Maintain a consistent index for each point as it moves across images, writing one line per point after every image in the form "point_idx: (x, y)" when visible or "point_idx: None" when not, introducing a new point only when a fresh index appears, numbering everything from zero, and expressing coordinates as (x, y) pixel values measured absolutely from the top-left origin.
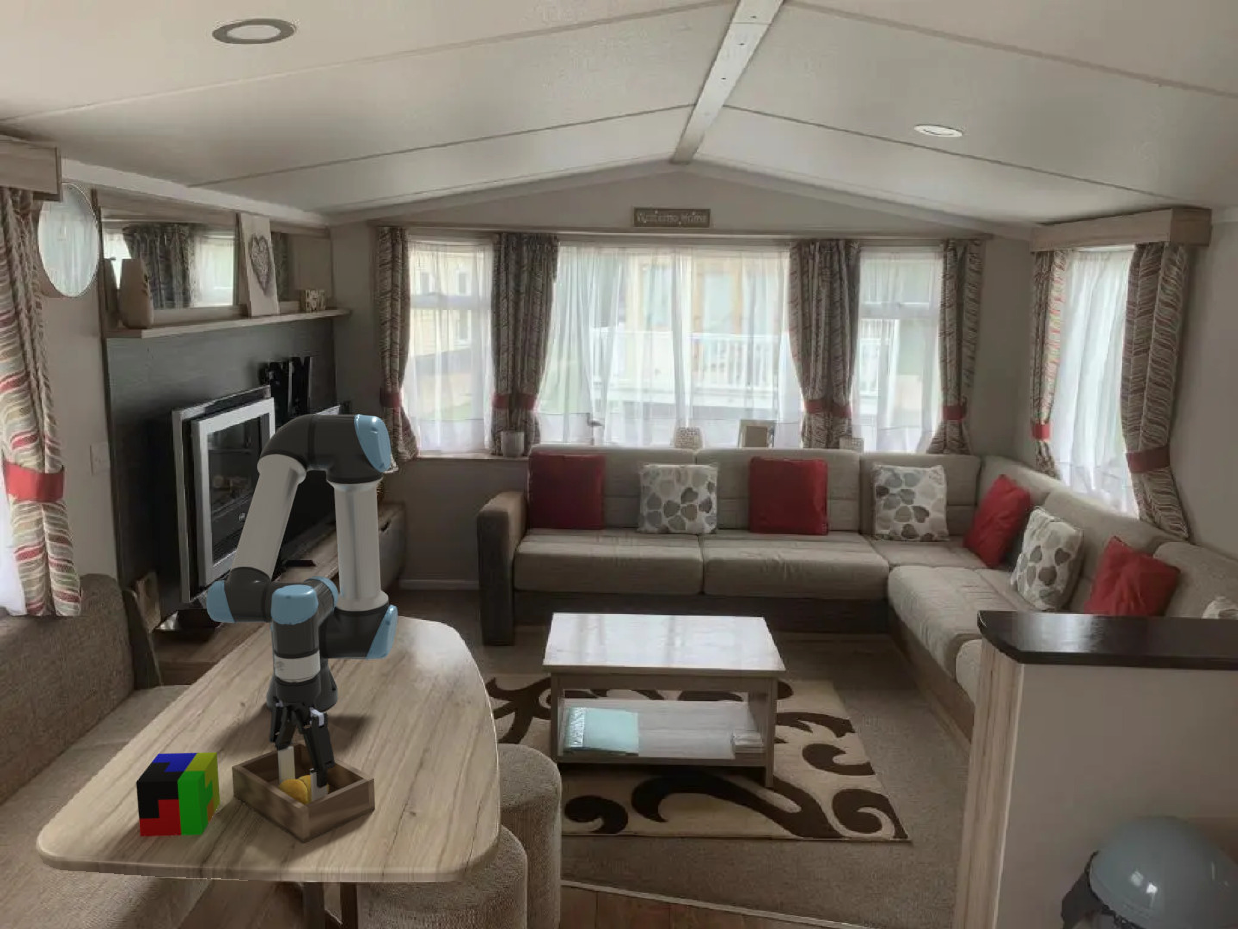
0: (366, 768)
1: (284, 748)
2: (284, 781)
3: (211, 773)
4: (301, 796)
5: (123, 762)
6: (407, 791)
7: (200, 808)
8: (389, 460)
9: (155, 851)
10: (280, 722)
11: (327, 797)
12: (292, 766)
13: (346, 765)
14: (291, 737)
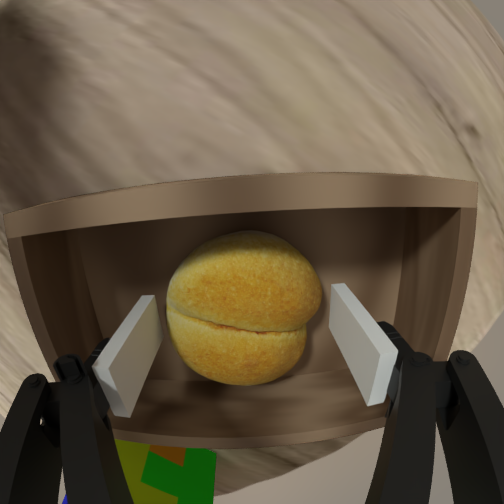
0: (186, 50)
1: (103, 394)
2: (201, 370)
3: (138, 492)
4: (299, 353)
5: None
6: (392, 59)
7: (211, 491)
8: None
9: (218, 483)
10: (41, 482)
11: (444, 354)
12: (138, 327)
13: (336, 189)
14: (93, 416)
